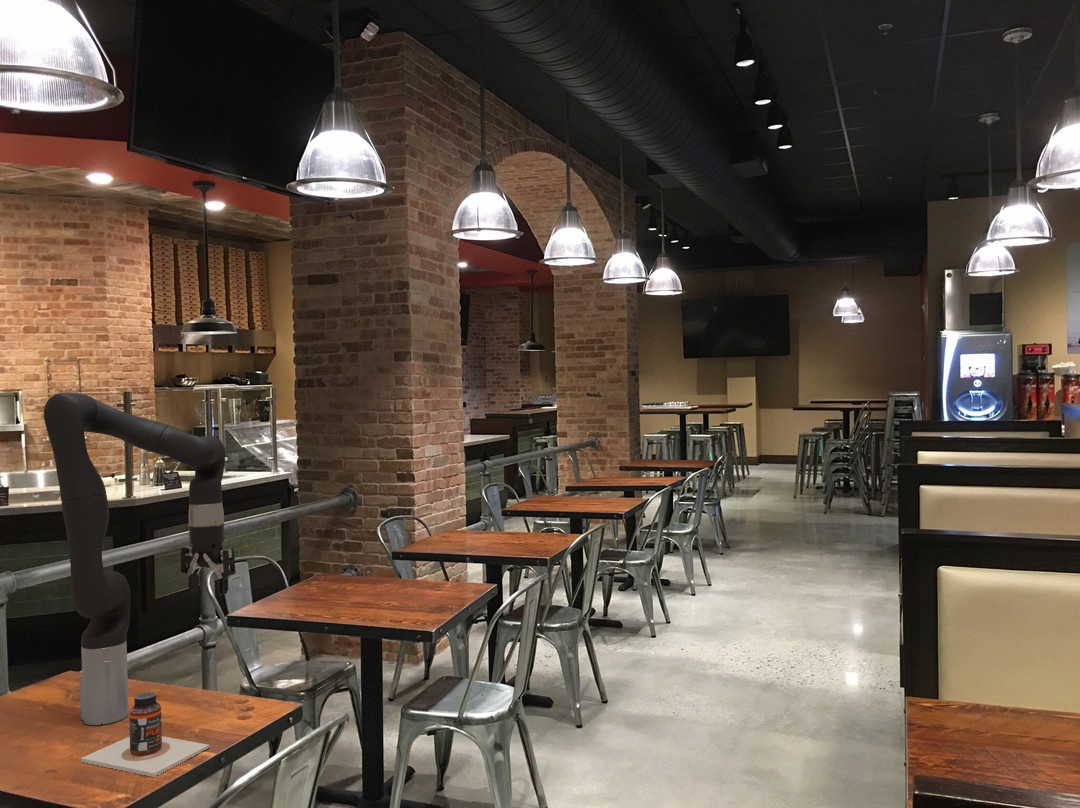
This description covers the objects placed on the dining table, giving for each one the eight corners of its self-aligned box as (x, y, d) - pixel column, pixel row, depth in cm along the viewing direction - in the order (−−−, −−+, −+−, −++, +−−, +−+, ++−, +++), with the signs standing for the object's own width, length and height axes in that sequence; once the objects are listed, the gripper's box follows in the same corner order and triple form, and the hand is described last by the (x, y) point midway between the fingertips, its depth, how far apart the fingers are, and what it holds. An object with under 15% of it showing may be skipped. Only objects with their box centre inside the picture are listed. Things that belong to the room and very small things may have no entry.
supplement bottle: (149, 757, 167) (147, 701, 167) (123, 755, 169) (121, 699, 169) (168, 745, 173) (166, 691, 173) (143, 743, 174) (141, 689, 174)
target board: (81, 762, 168) (81, 757, 168) (139, 735, 181) (138, 731, 181) (154, 777, 161) (154, 772, 161) (209, 748, 173) (209, 744, 173)
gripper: (170, 524, 192) (172, 594, 192) (217, 526, 186) (220, 599, 186) (195, 519, 199) (197, 587, 199) (242, 521, 193) (244, 591, 193)
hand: (208, 593), depth 192 cm, fingers open, 8 cm apart
